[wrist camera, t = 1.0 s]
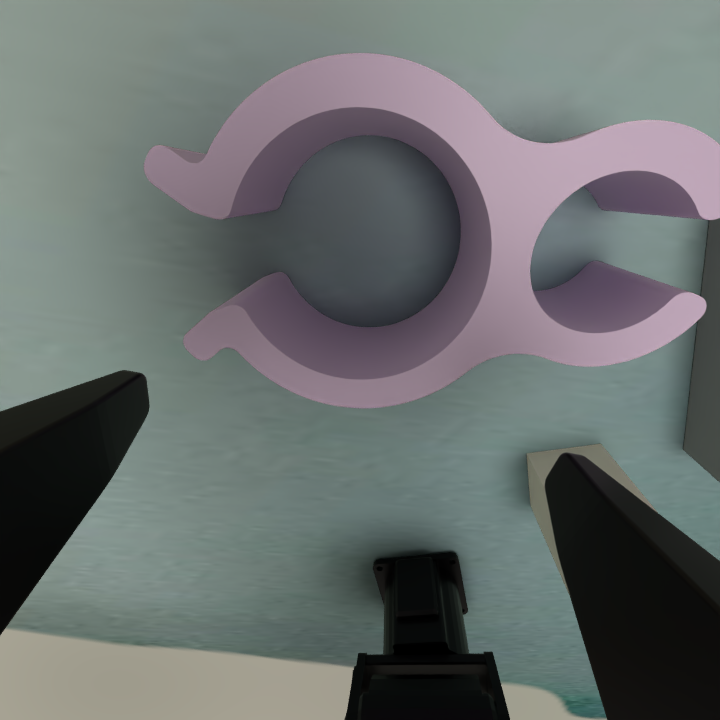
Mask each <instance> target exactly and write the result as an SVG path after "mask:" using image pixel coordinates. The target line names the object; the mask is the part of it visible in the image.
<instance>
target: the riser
mask: <svg viewBox="0 0 720 720" xmlns="http://www.w3.org/2000/svg"><path fill="white" fill-rule="evenodd" d="M701 297H702V298H704V300H705V301H706V305H707V306H706V310H705V313H704V314H703V316H702V317H701V318H700V319H699V320H698V325H697V333H696V342H695V351H694V360H693V368H692V377H691V386H690V395H689V403H688V412H687V421H686V430H685V438H684V447H683V450H684V451H685V452H686V453H687V454H688V455H689V456H691V457H692V458H693V459H694V460H695V461H696V462H697V463H698V464H700V465H701V466H702V467H703V468H704V469H705V470H706V471H707V472H709V473H710V474H711V475H712V476H713V477H714V478H715V479H716V480H717V481H719V482H720V218H718V219H714V220H709V228H708V237H707V246H706V255H705V263H704V272H703V281H702V290H701Z"/></svg>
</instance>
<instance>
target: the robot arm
mask: <svg viewBox="0 0 720 720" xmlns="http://www.w3.org/2000/svg"><path fill="white" fill-rule="evenodd" d="M148 412H149V396H148V388H147V380H146V377H145V376H144V375H143V374H142V373H138V372H133V371H127V370H122V371H118V372H115V373H112V374H109V375H106V376H104V377H101V378H98V379H95V380H92V381H89V382H86V383H83V384H80V385H77V386H74V387H71V388H68V389H65V390H62V391H59V392H56V393H53V394H50V395H48V396H45V397H42V398H39V399H36V400H33V401H30V402H27V403H24V404H21V405H18V406H15V407H12V408H9V409H6V410H3V411H0V635H1V634H2V632H3V631H4V629H5V628H6V627H7V625H8V624H9V622H10V621H11V620H12V618H13V617H14V615H15V614H16V613H17V611H18V610H19V608H20V607H21V606H22V604H23V603H24V601H25V600H26V599H27V597H28V596H29V594H30V593H31V591H32V590H33V589H34V587H35V586H36V584H37V583H38V582H39V580H40V579H41V577H42V576H43V575H44V573H45V572H46V570H47V569H48V568H49V566H50V565H51V563H52V562H53V561H54V559H55V558H56V556H57V555H58V554H59V552H60V551H61V549H62V548H63V547H64V545H65V544H66V542H67V541H68V539H69V538H70V537H71V535H72V534H73V532H74V531H75V530H76V528H77V527H78V525H79V524H80V523H81V521H82V520H83V518H84V517H85V516H86V514H87V513H88V511H89V510H90V509H91V507H92V506H93V504H94V503H95V502H96V500H97V499H98V497H99V496H100V495H101V493H102V492H103V490H104V489H105V487H106V486H107V484H108V483H109V482H110V480H111V479H112V477H113V475H114V474H115V472H116V470H117V469H118V467H119V465H120V463H121V462H122V460H123V458H124V456H125V454H126V453H127V451H128V449H129V447H130V445H131V444H132V442H133V440H134V438H135V436H136V435H137V433H138V431H139V429H140V428H141V426H142V424H143V422H144V420H145V419H146V417H147V415H148ZM545 493H546V498H547V503H548V508H549V513H550V518H551V524H552V529H553V534H554V539H555V544H556V549H557V553H558V557H559V561H560V564H561V568H562V571H563V575H564V578H565V581H566V585H567V588H568V591H569V595H570V598H571V601H572V604H573V608H574V611H575V614H576V618H577V621H578V624H579V628H580V631H581V634H582V638H583V641H584V644H585V647H586V651H587V654H588V657H589V661H590V664H591V667H592V671H593V674H594V677H595V681H596V684H597V687H598V690H599V694H600V697H601V700H602V704H603V707H604V710H605V714H606V717H607V720H720V561H719V560H718V559H716V558H715V557H714V556H713V555H711V554H710V553H709V552H707V551H706V550H705V549H704V548H702V547H701V546H700V545H698V544H697V543H696V542H695V541H693V540H692V539H691V538H689V537H688V536H687V535H686V534H684V533H683V532H682V531H680V530H679V529H678V528H677V527H675V526H674V525H673V524H671V523H670V522H669V521H668V520H666V519H665V518H664V517H662V516H661V515H660V514H658V513H657V512H656V511H655V510H653V509H652V508H651V507H649V506H648V505H647V504H646V503H644V502H643V501H642V500H640V499H639V498H638V497H637V496H635V495H634V494H633V493H631V492H630V491H629V490H628V489H626V488H625V487H624V486H622V485H621V484H620V483H619V482H617V481H616V480H615V479H613V478H612V477H611V476H610V475H608V474H607V473H606V472H604V471H603V470H602V469H601V468H599V467H598V466H597V465H595V464H594V463H593V462H592V461H590V460H589V459H588V458H586V457H585V456H583V455H579V454H574V453H568V452H565V453H562V454H561V455H560V456H559V457H558V459H557V461H556V462H555V464H554V466H553V467H552V469H551V470H550V472H549V474H548V475H547V477H546V480H545ZM373 570H374V574H375V577H376V580H377V583H378V587H379V590H380V593H381V596H382V600H383V603H384V647H383V654H381V655H367V653H358V659H357V665H356V666H355V667H354V670H353V677H352V684H351V690H350V697H349V703H348V709H347V713H346V717H345V720H510V717H509V714H508V710H507V706H506V702H505V698H504V694H503V690H502V687H501V683H500V679H499V675H498V671H497V667H496V663H495V660H494V656H493V652H484V653H483V654H469V649H468V643H467V637H466V631H465V625H464V619H463V614H466V613H467V612H468V608H467V603H466V597H465V592H464V586H463V581H462V575H461V570H460V564H459V559H458V556H457V555H456V554H455V553H444V554H433V555H422V556H411V557H401V558H390V559H379V560H376V561H374V563H373Z"/></svg>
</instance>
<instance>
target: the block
mask: <svg viewBox="0 0 720 720" xmlns="http://www.w3.org/2000/svg"><path fill="white" fill-rule="evenodd" d="M565 452H568V453H574V454H579V455H583V456H585V457H586V458H588V459H589V460H590V461H592V462H593V463H594V464H595V465H597V466H598V467H599V468H601V469H602V470H603V471H604V472H606V473H607V474H608V475H610V476H611V477H612V478H613V479H615V480H616V481H617V482H619V483H620V484H621V485H622V486H624V487H625V488H626V489H628V490H629V491H630V492H631V493H633V494H634V495H635V496H637V497H638V498H639V499H640V500H642V501H643V502H644V503H646V504H647V505H648V506H649V507H651V508H652V509H653V510H655V509H654V508H653V506H652V505H651V504H650V503H649V502H648V500H647V499H646V498H645V497H644V495H643V494H642V493H641V492H640V491H639V489H638V488H637V487H636V486H635V484H634V483H633V482H632V481H631V480H630V478H629V477H628V476H627V475H626V474H625V472H624V471H623V470H622V469H621V467H620V466H619V465H618V464H617V463H616V461H615V460H614V459H613V458H612V457H611V455H610V454H609V453H608V452H607V450H606V449H605V448H604V447H603V446H602V444H595V445H587V446H580V447H572V448H564V449H556V450H549V451H541V452H533V453H527V466H528V479H529V492H530V505H531V508H532V510H533V513H534V515H535V517H536V520H537V522H538V524H539V526H540V529H541V531H542V533H543V536H544V538H545V540H546V543H547V545H548V547H549V549H550V552H551V554H552V556H553V559H554V561H555V563H556V566H557V568H558V570H559V572H560V575H561V577H562V579H563V582H564V584H565V586H566V588H567V585H566V581H565V578H564V575H563V571H562V568H561V564H560V561H559V557H558V553H557V549H556V544H555V539H554V534H553V529H552V524H551V518H550V513H549V508H548V503H547V498H546V493H545V480H546V477H547V475H548V474H549V472H550V470H551V469H552V467H553V466H554V464H555V462H556V461H557V459H558V457H559V456H560V455H561V454H562V453H565ZM655 511H656V510H655ZM656 512H657V511H656ZM657 513H658V512H657ZM567 591H568V588H567ZM568 593H569V591H568Z"/></svg>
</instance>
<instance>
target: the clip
mask: <svg viewBox="0 0 720 720" xmlns="http://www.w3.org/2000/svg"><path fill="white" fill-rule="evenodd" d="M363 135H376V136H384V137H389V138H393V139H396V140H399V141H402V142H404V143H406V144H408V145H410V146H412V147H414V148H416V149H417V150H419V151H420V152H422V153H423V154H424V155H425V156H427V157H428V158H429V159H430V160H431V161H432V162H433V163H434V164H435V165H436V166H437V167H438V168H439V170H440V171H441V172H442V174H443V175H444V177H445V178H446V180H447V181H448V183H449V185H450V187H451V189H452V191H453V194H454V196H455V199H456V202H457V206H458V210H459V215H460V224H461V239H460V247H459V253H458V257H457V260H456V263H455V266H454V269H453V271H452V273H451V275H450V277H449V279H448V281H447V283H446V284H445V286H444V287H443V289H442V290H441V292H440V293H439V294H438V295H437V296H436V297H435V299H434V300H433V301H432V302H431V303H430V304H428V305H427V306H426V307H425V308H424V309H422V310H421V311H420V312H418V313H417V314H415V315H413V316H411V317H410V318H407V319H405V320H403V321H401V322H398V323H395V324H391V325H387V326H381V327H357V326H351V325H347V324H343V323H340V322H337V321H335V320H333V319H331V318H329V317H327V316H325V315H323V314H322V313H320V312H319V311H317V310H316V309H314V308H313V307H312V306H311V305H310V304H309V303H307V302H306V301H305V300H304V298H303V297H302V296H301V295H300V294H299V293H298V291H297V290H296V289H295V287H294V286H293V284H292V283H291V281H290V279H289V277H288V276H287V275H286V274H285V273H283V272H276V273H273V274H270V275H267V276H264V277H262V278H261V279H259V280H258V281H256V282H255V283H253V284H252V285H250V286H249V287H247V288H246V289H244V290H243V291H241V292H240V293H238V294H237V295H235V296H234V297H232V298H231V299H229V300H228V301H226V302H225V303H223V304H222V305H220V306H219V307H217V308H216V309H214V310H213V311H211V312H210V313H208V314H207V315H206V316H205V317H204V318H203V319H202V320H201V321H200V322H199V323H197V324H196V325H195V326H194V327H193V328H192V329H191V330H190V331H189V332H187V333H186V335H185V336H184V339H183V343H184V346H185V348H186V349H187V350H188V352H190V353H191V354H192V355H193V356H194V357H195V358H197V359H199V360H208V359H210V358H211V357H213V356H214V355H215V354H216V353H217V352H219V351H220V350H221V349H223V348H232V349H234V350H236V351H237V352H239V353H240V354H241V356H242V357H243V358H244V359H245V360H246V361H248V362H249V363H250V364H251V365H252V366H253V367H254V368H255V369H257V370H258V371H259V372H260V373H262V374H263V375H264V376H266V377H267V378H269V379H270V380H272V381H273V382H275V383H276V384H278V385H280V386H281V387H283V388H285V389H287V390H289V391H291V392H293V393H295V394H298V395H300V396H303V397H305V398H308V399H311V400H314V401H317V402H321V403H324V404H329V405H334V406H340V407H349V408H378V407H387V406H394V405H398V404H403V403H406V402H410V401H413V400H416V399H419V398H422V397H425V396H427V395H429V394H432V393H434V392H436V391H438V390H440V389H442V388H444V387H445V386H447V385H449V384H450V383H452V382H454V381H455V380H457V379H458V378H459V377H461V376H462V375H463V374H465V373H466V372H467V371H469V370H470V369H472V368H473V367H475V366H476V365H478V364H480V363H482V362H484V361H486V360H489V359H491V358H494V357H498V356H502V355H508V354H530V355H536V356H540V357H543V358H546V359H549V360H552V361H554V362H558V363H562V364H567V365H573V366H589V367H591V366H604V365H611V364H617V363H621V362H625V361H629V360H632V359H635V358H638V357H640V356H643V355H645V354H648V353H650V352H652V351H654V350H656V349H658V348H660V347H662V346H664V345H666V344H667V343H669V342H670V341H672V340H674V339H675V338H677V337H678V336H679V335H681V334H682V333H684V332H685V331H686V330H687V329H689V328H690V327H691V326H692V325H693V324H694V323H696V322H697V321H698V320H699V319H700V318H701V317H702V316H703V314H704V313H705V310H706V306H707V305H706V301H705V300H704V298H702V297H701V296H699V295H696V294H694V293H691V292H688V291H685V290H682V289H679V288H676V287H673V286H670V285H668V284H665V283H662V282H659V281H656V280H653V279H650V278H647V277H644V276H641V275H638V274H635V273H632V272H629V271H626V270H624V269H621V268H618V267H615V266H612V265H609V264H606V263H603V262H600V261H592V262H590V263H588V264H587V265H586V266H585V267H584V268H583V269H582V270H581V271H580V272H579V273H578V274H577V275H576V276H574V277H573V278H572V279H570V280H569V281H567V282H565V283H563V284H562V285H559V286H557V287H554V288H551V289H547V290H541V291H533V289H532V285H531V279H530V263H531V256H532V252H533V248H534V245H535V242H536V240H537V237H538V235H539V233H540V231H541V229H542V227H543V226H544V224H545V222H546V221H547V219H548V218H549V217H550V215H551V214H552V213H553V212H554V210H555V209H556V208H557V207H558V206H559V205H560V204H561V203H562V202H563V201H564V200H565V199H566V198H567V197H569V196H570V195H571V194H572V193H574V192H575V191H576V190H578V189H579V188H581V187H582V186H584V187H585V188H586V189H587V190H588V191H589V192H590V193H591V194H592V195H593V197H594V198H595V200H596V202H597V204H598V206H599V207H600V208H601V209H602V210H606V211H617V212H628V213H639V214H650V215H661V216H672V217H682V218H693V219H704V220H714V219H718V218H720V145H719V144H718V143H717V142H716V141H714V140H713V139H712V138H711V137H709V136H707V135H706V134H704V133H703V132H700V131H698V130H696V129H694V128H692V127H689V126H686V125H683V124H679V123H675V122H670V121H662V120H639V121H631V122H624V123H620V124H616V125H612V126H608V127H605V128H602V129H598V130H595V131H592V132H588V133H585V134H582V135H578V136H575V137H572V138H568V139H565V140H561V141H558V142H555V143H538V142H532V141H528V140H525V139H522V138H519V137H517V136H515V135H513V134H511V133H510V132H508V131H507V130H505V129H504V128H503V127H502V126H501V125H499V124H498V123H497V122H496V121H495V120H494V118H493V117H492V116H491V115H490V114H489V113H488V112H487V111H486V110H485V108H484V107H483V106H482V105H481V104H480V103H479V102H478V101H477V100H476V99H475V98H474V97H473V96H471V95H470V94H469V93H468V92H466V91H465V90H464V89H463V88H462V87H460V86H459V85H457V84H456V83H454V82H453V81H451V80H450V79H448V78H447V77H445V76H443V75H441V74H440V73H438V72H436V71H434V70H432V69H430V68H427V67H425V66H423V65H420V64H418V63H415V62H412V61H409V60H405V59H402V58H398V57H393V56H388V55H382V54H372V53H349V54H338V55H332V56H326V57H322V58H318V59H314V60H311V61H308V62H305V63H302V64H299V65H297V66H295V67H293V68H290V69H288V70H286V71H284V72H282V73H281V74H279V75H277V76H275V77H274V78H272V79H270V80H269V81H267V82H266V83H264V84H263V85H262V86H260V87H259V88H258V89H257V90H255V91H254V92H253V93H252V94H251V95H249V96H248V97H247V98H246V99H245V100H244V101H243V102H242V103H241V104H240V105H239V106H238V107H237V108H236V109H235V110H234V112H233V113H232V114H231V115H230V117H229V118H228V119H227V120H226V122H225V123H224V125H223V126H222V127H221V129H220V130H219V132H218V133H217V135H216V137H215V139H214V140H213V142H212V144H211V146H210V148H209V150H208V152H207V154H203V153H198V152H193V151H188V150H183V149H178V148H173V147H168V146H163V145H157V146H154V147H152V148H151V149H150V150H149V152H148V154H147V157H146V159H145V162H144V171H145V174H146V177H147V178H148V180H149V181H150V182H151V183H152V184H153V185H155V186H156V187H157V188H159V189H160V190H162V191H163V192H164V193H166V194H167V195H169V196H170V197H171V198H173V199H174V200H176V201H177V202H178V203H180V204H181V205H183V206H184V207H185V208H187V209H188V210H190V211H191V212H194V213H197V214H200V215H203V216H207V217H210V218H213V219H226V218H232V217H238V216H244V215H250V214H256V213H262V212H268V211H274V210H277V209H278V208H279V207H280V205H281V203H282V200H283V197H284V194H285V192H286V190H287V188H288V186H289V184H290V182H291V180H292V179H293V177H294V175H295V174H296V173H297V171H298V170H299V169H300V168H301V166H302V165H303V164H304V163H305V162H306V161H307V160H308V159H309V158H310V157H312V156H313V155H314V154H315V153H317V152H318V151H320V150H321V149H323V148H324V147H326V146H328V145H330V144H332V143H334V142H337V141H339V140H342V139H345V138H350V137H355V136H363Z"/></svg>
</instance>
